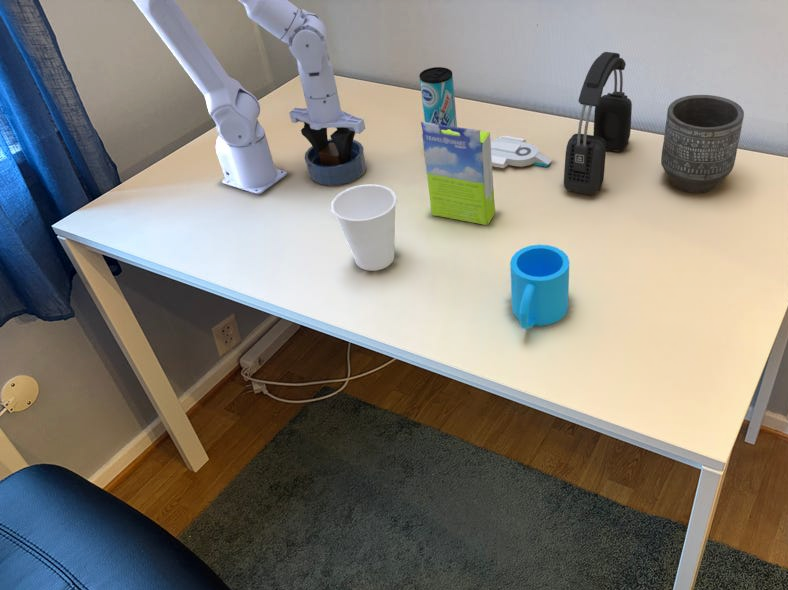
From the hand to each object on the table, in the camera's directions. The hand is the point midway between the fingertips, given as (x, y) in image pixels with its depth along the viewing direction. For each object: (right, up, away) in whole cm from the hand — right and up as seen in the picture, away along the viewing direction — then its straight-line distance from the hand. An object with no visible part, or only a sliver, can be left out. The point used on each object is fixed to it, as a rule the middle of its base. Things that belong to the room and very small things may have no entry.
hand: (336, 162), depth 136 cm
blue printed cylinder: (+20, +3, +5) cm, 21 cm away
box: (+24, -12, -11) cm, 29 cm away
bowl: (0, -1, +1) cm, 2 cm away
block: (0, -1, +1) cm, 1 cm away
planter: (+64, -5, -8) cm, 65 cm away
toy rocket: (+33, +1, +1) cm, 32 cm away
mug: (+35, -31, -30) cm, 55 cm away
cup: (+10, -21, -19) cm, 30 cm away
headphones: (+48, -2, -3) cm, 48 cm away
